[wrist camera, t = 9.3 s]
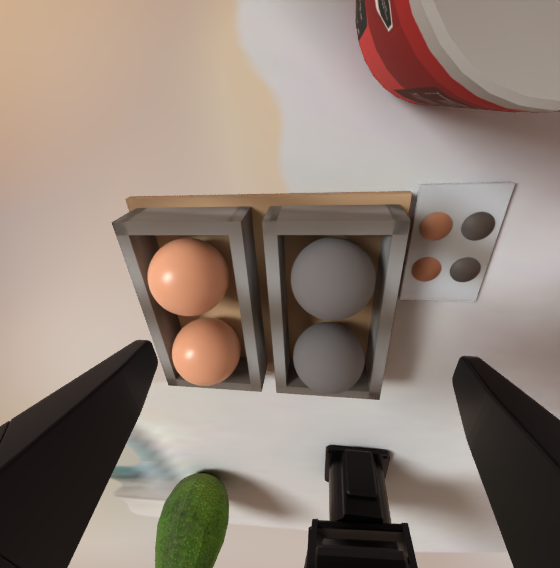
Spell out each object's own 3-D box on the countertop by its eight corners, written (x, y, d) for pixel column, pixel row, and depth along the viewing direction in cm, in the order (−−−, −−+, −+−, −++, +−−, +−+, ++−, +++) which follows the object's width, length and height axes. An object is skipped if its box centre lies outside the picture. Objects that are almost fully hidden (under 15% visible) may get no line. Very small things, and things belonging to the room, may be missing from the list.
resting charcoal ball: (358, 359, 25) (365, 412, 21) (296, 355, 25) (291, 407, 21) (363, 309, 22) (372, 358, 18) (295, 307, 23) (288, 354, 19)
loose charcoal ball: (373, 224, 19) (388, 260, 15) (365, 292, 22) (376, 339, 17) (292, 225, 20) (285, 260, 15) (294, 290, 22) (288, 336, 18)
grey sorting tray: (448, 375, 25) (464, 411, 22) (180, 360, 28) (163, 389, 26) (512, 182, 17) (549, 198, 14) (128, 190, 20) (96, 205, 18)
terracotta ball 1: (241, 290, 23) (221, 334, 18) (177, 288, 23) (145, 330, 19) (232, 226, 20) (207, 260, 16) (161, 226, 21) (119, 259, 17)
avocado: (242, 493, 40) (215, 626, 30) (187, 488, 42) (143, 614, 32) (231, 459, 36) (195, 599, 26) (170, 455, 38) (113, 587, 28)
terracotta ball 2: (249, 353, 26) (235, 403, 22) (194, 350, 27) (169, 398, 22) (243, 305, 23) (225, 351, 19) (181, 303, 24) (151, 347, 20)
